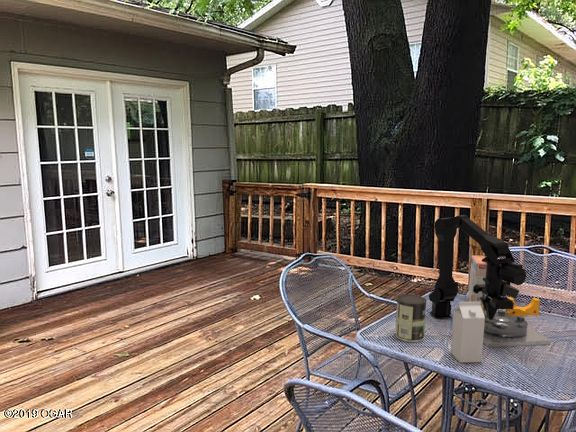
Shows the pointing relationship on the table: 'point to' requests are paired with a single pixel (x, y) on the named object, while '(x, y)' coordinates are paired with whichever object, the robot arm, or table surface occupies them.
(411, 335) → the coffee can
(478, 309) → the milk carton
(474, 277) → the cracker box
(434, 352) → the table surface
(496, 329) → the crank wheel
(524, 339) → the base plate
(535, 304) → the pipe clamp
